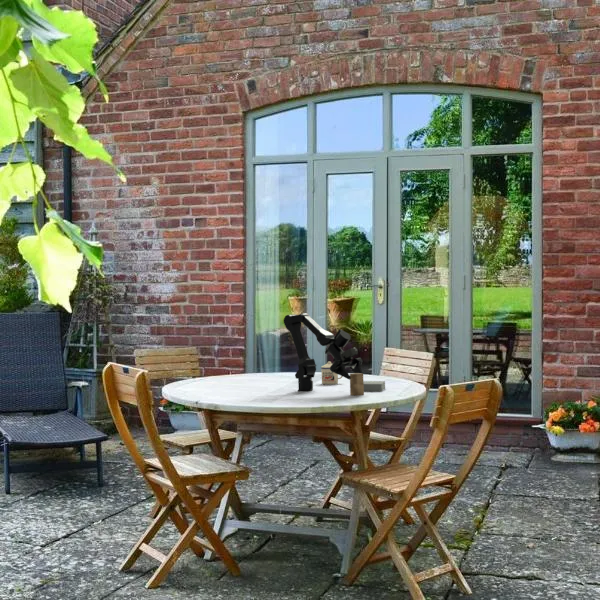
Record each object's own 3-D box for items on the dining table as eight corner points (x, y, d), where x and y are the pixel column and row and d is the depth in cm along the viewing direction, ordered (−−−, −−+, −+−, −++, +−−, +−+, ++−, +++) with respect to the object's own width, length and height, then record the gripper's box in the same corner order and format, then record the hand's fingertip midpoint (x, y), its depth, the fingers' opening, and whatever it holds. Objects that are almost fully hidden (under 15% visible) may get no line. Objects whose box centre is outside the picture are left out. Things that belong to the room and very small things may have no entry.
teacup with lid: (319, 384, 446) (318, 362, 446) (324, 382, 455) (323, 360, 455) (341, 384, 443) (340, 362, 442) (345, 382, 451) (345, 360, 451)
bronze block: (350, 395, 398) (349, 373, 398) (356, 394, 401) (355, 373, 401) (357, 395, 395) (357, 374, 395) (363, 394, 398) (363, 373, 398)
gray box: (357, 392, 411) (357, 384, 411) (361, 389, 423) (361, 381, 423) (381, 392, 409) (381, 383, 408) (385, 389, 420) (384, 381, 420)
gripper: (333, 343, 395) (352, 368, 387) (359, 341, 408) (377, 364, 401) (321, 360, 400) (340, 384, 393) (347, 357, 414) (365, 380, 406)
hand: (356, 378), depth 398 cm, fingers open, 9 cm apart
